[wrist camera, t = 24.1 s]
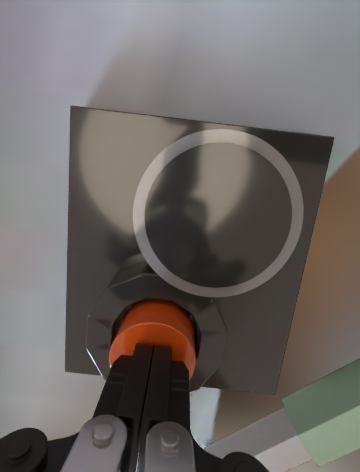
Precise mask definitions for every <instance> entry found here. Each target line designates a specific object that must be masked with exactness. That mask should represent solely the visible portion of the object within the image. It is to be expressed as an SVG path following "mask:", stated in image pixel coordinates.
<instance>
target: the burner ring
mask: <svg viewBox="0 0 360 472" xmlns="http://www.w3.org/2000/svg"><path fill="white" fill-rule="evenodd" d="M303 210H304V206H303V198H302V193H301V189H300V185H299V182H298V180H297V178H296V175H295V173H294V171H293V170H292V168H291V166H290V165H289V163H288V162H287V161H286V160H285V158H284V157H283V156H282V155H281V154H280V153H279V152H278V151H277V150H276V149H275V148H274V147H272V146H271V145H269V144H268V143H267V142H265V141H264V140H262V139H260V138H258V137H256V136H254V135H251V134H248V133H245V132H242V131H237V130H231V129H211V130H204V131H200V132H195V133H193V134H190V135H187V136H185V137H183V138H181V139H179V140H177V141H175V142H173V143H172V144H171V145H169V146H168V147H167V148H165V149H164V150H163V151H162V152H161V153H160V154H159V155H158V156H157V157H156V158H155V159H154V160H153V161H152V162H151V164H150V165H149V166H148V168H147V169H146V171H145V173H144V174H143V176H142V178H141V180H140V183H139V185H138V187H137V191H136V194H135V198H134V205H133V226H134V233H135V236H136V240H137V243H138V246H139V248H140V250H141V252H142V254H143V256H144V258H145V259H146V261H147V262H148V264H149V265H150V266H151V268H152V269H153V270H154V271H155V272H156V273H157V274H158V275H159V276H160V277H161V278H163V279H164V280H165V281H166V282H168V283H169V284H171V285H173V286H174V287H176V288H178V289H180V290H182V291H185V292H187V293H191V294H194V295H198V296H204V297H228V296H233V295H238V294H241V293H244V292H247V291H250V290H252V289H254V288H256V287H258V286H260V285H261V284H263V283H265V282H266V281H267V280H269V279H270V278H271V277H273V276H274V275H275V274H276V273H277V272H278V271H279V270H280V269H281V268H282V267H283V266H284V264H285V263H286V262H287V260H288V259H289V257H290V256H291V254H292V252H293V251H294V249H295V247H296V244H297V242H298V240H299V236H300V233H301V229H302V223H303Z"/></svg>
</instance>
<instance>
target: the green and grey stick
mask: <svg viewBox="0 0 360 472" xmlns="http://www.w3.org/2000/svg"><path fill="white" fill-rule="evenodd" d="M281 400H282V402H283V405H284V407H283V408H281V409H279V410H277V411H275V412H273V413H271V414H269V415H267V416H265V417H263V418H261V419H259V420H257V421H255V422H253V423H251V424H249V425H247V426H245V427H243V428H242V429H239V430H237V431H236V432H234V433H232V434H230V435H228V436H226V437H224V438H222V439H220V440H218V441H216V442H214V443H212V444H210V445H208V446H206V447H204V450H205V451H206V452H208V453H210V454H212V455H215V456H217V457H219V458H221V459H223V458H224V457H225V456H226V455H227V454H229V453H231V452H245V453H247V454H250V455H252V456H253V457H255V458H256V459H258V460H259V461H260V462H261V463H262V464H263V465H264V466H265V467H266V469H267V470H268V471H269V472H287V471H289V470H291V469H293V468H295V467H297V466H299V465H301V464H303V463H305V462H308V461H310V460H312V459H313V460H314V462H315V463H316V464H317V466H318V467H321V466H323V465H325V464H327V463H329V462H332V461H334V460H336V459H338V458H340V457H342V456H345V455H347V454H349V453H351V452H353V451H355V450H357V449H360V359H358V360H356V361H354V362H352V363H350V364H348V365H346V366H344V367H342V368H340V369H338V370H336V371H334V372H332V373H330V374H329V375H327V376H325V377H323V378H321V379H319V380H317V381H315V382H313V383H311V384H309V385H307V386H306V387H303V388H301V389H300V390H298V391H296V392H294V393H292V394H290V395H288V396H286V397H284V398H282V399H281Z"/></svg>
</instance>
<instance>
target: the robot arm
mask: <svg viewBox="0 0 360 472" xmlns="http://www.w3.org/2000/svg"><path fill="white" fill-rule="evenodd" d="M153 348H154V345H150V344H141V343H136V345H135V349H134V353H133V356H130V355H120V356H119V357H118V358H117V359H116V360H115V361H114V362H113V364H112V367H111V369H110V372H109V375H108V377H107V380H106V383H105V386H104V388H103V391H102V394H101V396H100V399H99V402H98V404H97V407H96V410H95V412H94V415H93V417H92V419H90V420H89V421H88V422H86V423H85V424H84V426H83V427H82V428H81V430H80V432H78V433H76V434H74V435H72V436H70V437H66V438H61V439H56V440H51V441H47V437H46V435H45V434H44V433H43V432H42V431H40V430H38V429H35V428H24V429H20V430H16V431H14V432H12V433H10V434H8V435H6V436H5V437H3V438H1V439H0V472H135V471H136V465H137V459H138V468H137V472H269V471H268V470H267V469H266V467H265V466H264V465H263V464H262V463H261V462H260V461H259V460H258V459H256V458H255V457H253V456H252V455H250V454H247V453H245V452H231V453H229V454H227V455H226V456H225V457H224V458H223V459H221V458H219V457H217V456H215V455H212V454H210V453H208V452H206V451H205V450H203V449H202V448H201V447H200V446H199V445H198V444H197V443H196V442H195V440H194V438H193V436H192V434H191V430H190V399H189V370H188V368H187V366H186V365H185V363H184V361H176V360H171V357H172V347H169V346H160V345H155V348H154V354H153ZM152 357H153V360H152ZM139 447H140V448H139ZM138 453H139V458H138Z"/></svg>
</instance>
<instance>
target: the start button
mask: <svg viewBox="0 0 360 472" xmlns="http://www.w3.org/2000/svg"><path fill="white" fill-rule="evenodd" d="M136 343H141V344H150V345H154V348H155V345H160V346H169V347H172V357H171V360H176V361H184V363H185V365H186V366H187V368H188V370H189V380H190V378H191V377H192V375H193V372H194V369H195V364H196V357H195V338H194V327H193V323H192V321H191V319H190V317H189V315H188V314H187V313H186V312H185V311H184V310H183V309H182V308H181V307H180V306H178V305H177V304H175V303H173V302H171V301H167V300H160V299H149V300H145V301H142V302H139V303H137V304H136V305H134V306H133V307H131V308H130V309H129V310H128V311H127V312H126V314H125V315H124V317H123V319H122V321H121V324H120V326H119V329H118V331H117V333H116V336H115V338H114V341H113V343H112V345H111V349H110V353H109V363H110V368H111V367H112V364H113V362H114V361H115V360H116V359H117V358H118V357H119V356H120V355H130V356H133V353H134V349H135V345H136ZM154 348H153V354H154ZM152 360H153V357H152Z"/></svg>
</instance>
